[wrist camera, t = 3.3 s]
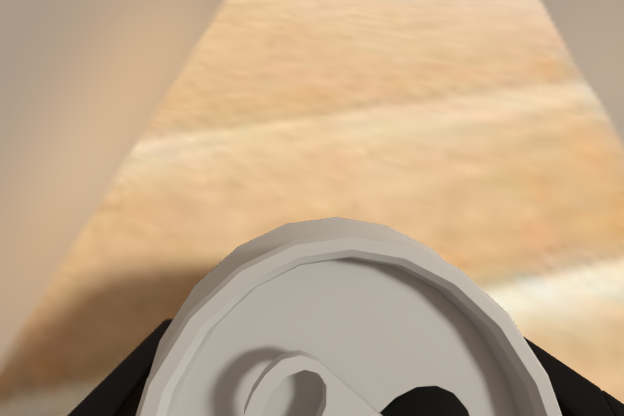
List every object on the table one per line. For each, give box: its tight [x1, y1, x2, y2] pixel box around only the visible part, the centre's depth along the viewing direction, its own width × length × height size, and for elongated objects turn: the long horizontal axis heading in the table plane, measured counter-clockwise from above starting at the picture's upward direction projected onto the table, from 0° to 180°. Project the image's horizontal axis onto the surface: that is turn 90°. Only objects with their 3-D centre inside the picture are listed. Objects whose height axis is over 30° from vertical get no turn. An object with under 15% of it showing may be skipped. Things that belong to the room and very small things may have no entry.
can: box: [136, 217, 562, 416], centre depth 9 cm, size 8×8×12 cm
